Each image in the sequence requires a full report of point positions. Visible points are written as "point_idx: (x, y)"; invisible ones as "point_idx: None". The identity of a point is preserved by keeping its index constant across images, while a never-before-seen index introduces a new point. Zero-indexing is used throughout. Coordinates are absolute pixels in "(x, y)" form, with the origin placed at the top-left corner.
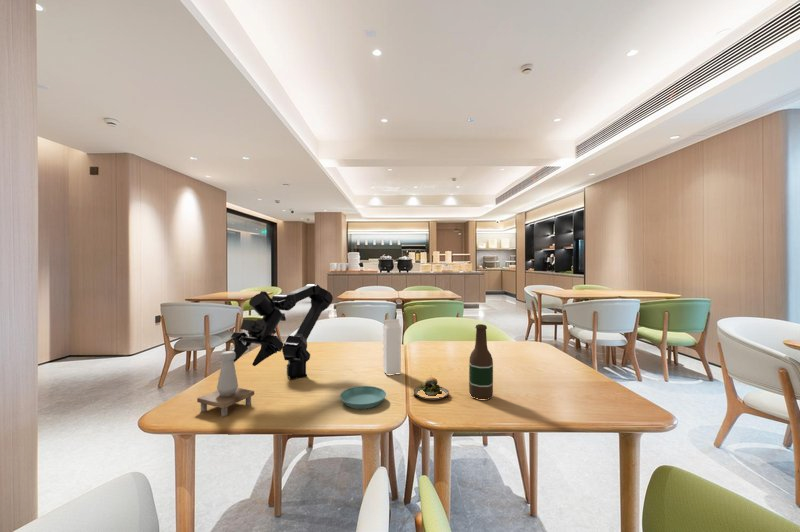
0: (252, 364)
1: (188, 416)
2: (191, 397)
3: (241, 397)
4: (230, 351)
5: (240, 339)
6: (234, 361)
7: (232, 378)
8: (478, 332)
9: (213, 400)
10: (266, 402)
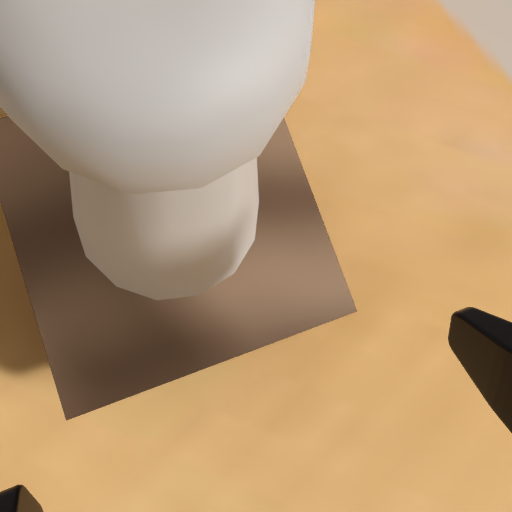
0: (16, 487)
1: None
2: (498, 159)
3: (26, 283)
4: (136, 6)
5: None
6: (462, 355)
7: (73, 197)
8: None
9: None
10: (37, 486)
